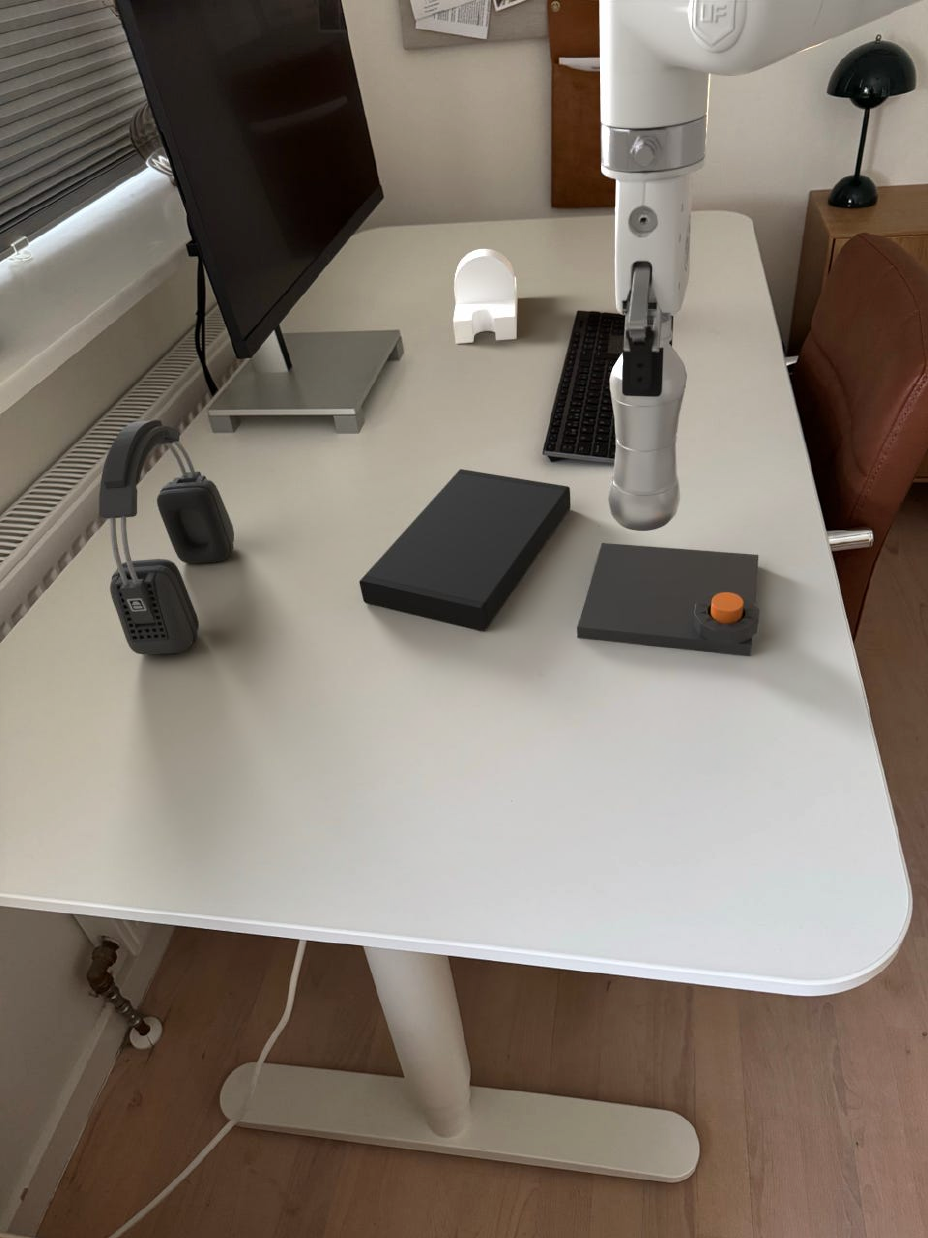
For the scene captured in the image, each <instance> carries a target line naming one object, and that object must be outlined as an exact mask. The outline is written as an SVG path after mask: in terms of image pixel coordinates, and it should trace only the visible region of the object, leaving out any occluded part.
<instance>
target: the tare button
mask: <svg viewBox="0 0 928 1238" xmlns="http://www.w3.org/2000/svg"><path fill="white" fill-rule="evenodd" d="M743 604H744V602H743V600H742V598H741V597H740V596H738V595H737V594H734V593H729V592H723V593H719V594H717V595H715V596H714V597H713V599H712V603H711V616H712V618H713V619H714V620H716V621H718V622H720V623H728V624H731V623H735V622H738V621H739V620H740V619H741V618H742V613H743Z"/></svg>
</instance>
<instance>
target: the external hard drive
mask: <svg viewBox="0 0 928 1238" xmlns="http://www.w3.org/2000/svg"><path fill="white" fill-rule="evenodd" d="M570 509H571V488H570V486H567V485H561V484H555V483H550V482H544V481H537V480H531V479H525V478H518V477H512V476H506V475H501V474H500V475H499V474H494V473H488V472H481V471H475V470H469V469H462V468H460V469H459V470H457V472H456V473H455V474H454V475H453V476H452V478H451V479H450V480H449V481H447V483H446V484H445V485H444V486H443V488H442V489H441V490H440V491H439V492H438V493H437V494H436V495H435V496H434V497H433V499H432V500H431V501H429V503H428V504H427V505H426V506H425V508H424V509H422V511H421V512H420V513H419V514H418V515H417V517H416V518H415V519H414V520H413V521H412V522H411V523H410V524H409V525H408V526H407V528H406V529H405V530H404V531H403V532H402V533H401V534H400V536H398V537H397V539H395V541H394V542H393V543H392V544H391V545H390V547H388V549H387V550H386V551H385V552H384V553H383V554H382V556H380V558H379V559H378V560H376V562H375V563H374V564H373V565H372V566H371V568H370V569H369V570H368V571H367V572H366V573H365V574H364V575H363V576H362V578H361V579H360V580H359V581H358V583H359V587H360V592H361V596H362V601H363V603H365V604H368V605H372V606H376V607H379V608H384V609H388V610H393V611H397V612H401V613H405V614H409V615H413V616H417V617H422V618H426V619H430V620H434V621H437V622H442V623H446V624H450V625H453V626H459V627H462V628H467V629H471V630H475V631H479V632H483V633H484V632H486V630H487V629H488V627H490V625H491V623H492V621H493V620H494V618H495V617H496V616H497V614H498V613H499V611H500V610H501V608H502V607H503V605H504V604H505V603H506V601H507V600H508V598H509V597H510V596H511V595H512V592H513V591H514V589H516V587H517V585H518V584H519V582H520V581H521V580H522V578H523V577H524V575H525V574H526V572H527V571H528V570H529V568H530V566H531V565H532V564H533V562H534V561H535V559H536V558H537V556H539V554H540V552H541V551H542V549H543V548H544V546H545V545H546V544H547V543H548V541H549V539H550V538H551V536H552V535H553V534H554V532H555V530H557V528H558V526H559V525H560V523H561V522H562V520H563V519H564V518H565V516H566V515H567V514H568V512H569V510H570Z"/></svg>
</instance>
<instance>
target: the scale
mask: <svg viewBox="0 0 928 1238" xmlns="http://www.w3.org/2000/svg"><path fill="white" fill-rule="evenodd" d="M596 557H597V558H596V561H595V565H594V568H593V572H592V574H591V578H590V582H589V584H588V589H587V591H586V595H585V599H584V602H583V605H582V608H581V609H582V610H581V611H580V615H579V619H578V622H577V626H576V634H577V635H576V636H577V638H578V639H587V640H596V641H605V642H613V643H614V642H615V643H625V644H631V645H632V644H634V645H642V646H652V647H661V648H671V649H679V650H680V649H681V650H688V651H689V650H690V651H698V652H707V653H708V652H709V653H719V654H725V655H727V654H728V655H734V656H736V655H737V656H744V657H751V655H752V649H753V648H752V647H753V638H754V636H755V635H756V634H757V633H758V629H759V628H758V627H759V620H760V608H759V607H758V605H756V595H757V583H758V582H757V579H758V570H759V569H758V568H759V554H754V553H753V554H752V553H739V552H726V551H715V550H703V549H702V550H699V549H687V548H673V547H663V546H649V545H635V544H622V543H611V542H609V543H608V542H601V543H600V548H599V551H598V554H597V556H596ZM723 592H729V593H734V594H737V595H738V596H740V597H741V598H742V600H743V602H744V604H743V613H742V618H741V619H740V620H739V621H738V622H735V623H731V624H728V623H720V622H718V621H716V620H714V619H713V618H712V616H711V603H712V599H713V597H714V596H715V595H717V594H719V593H723Z"/></svg>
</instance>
